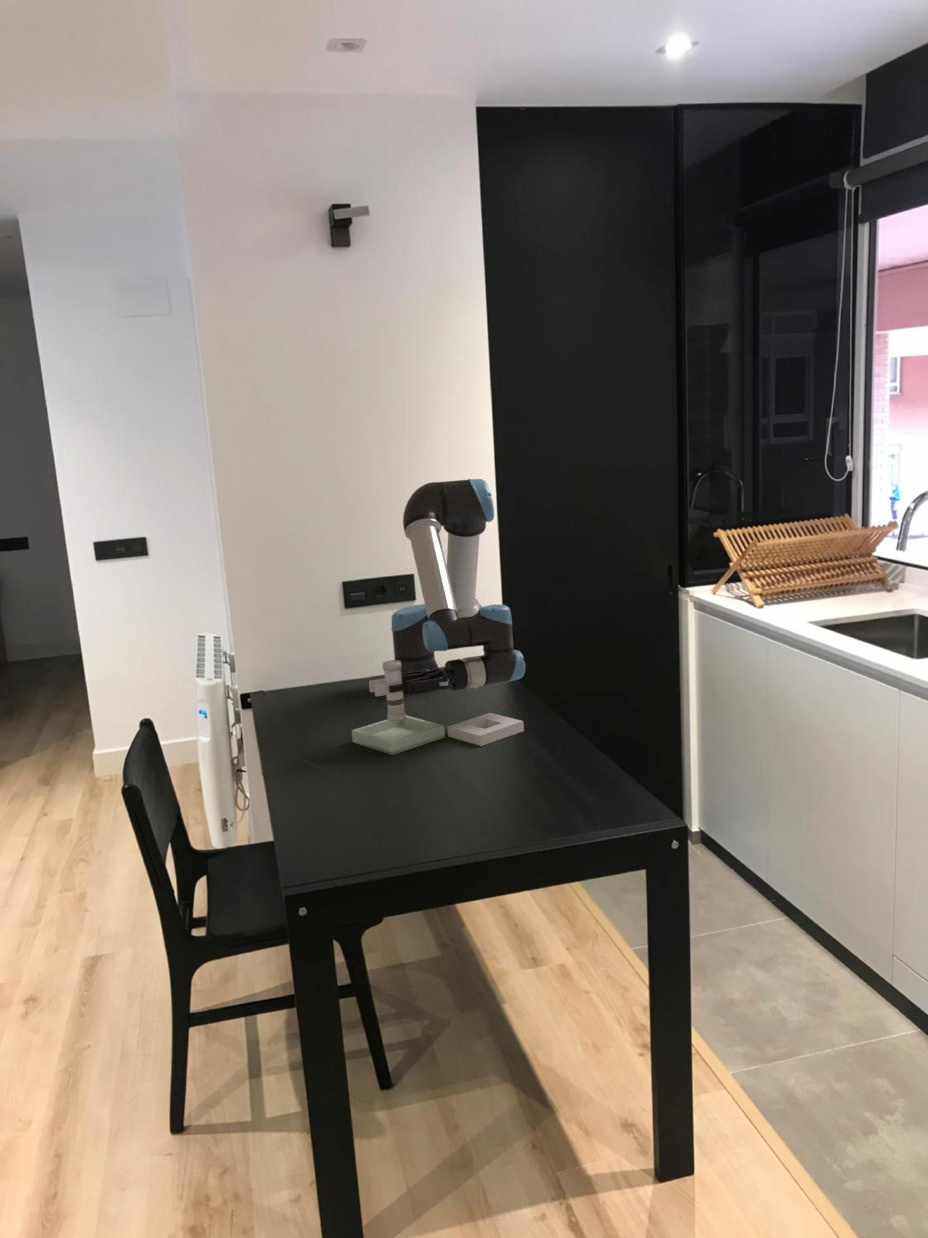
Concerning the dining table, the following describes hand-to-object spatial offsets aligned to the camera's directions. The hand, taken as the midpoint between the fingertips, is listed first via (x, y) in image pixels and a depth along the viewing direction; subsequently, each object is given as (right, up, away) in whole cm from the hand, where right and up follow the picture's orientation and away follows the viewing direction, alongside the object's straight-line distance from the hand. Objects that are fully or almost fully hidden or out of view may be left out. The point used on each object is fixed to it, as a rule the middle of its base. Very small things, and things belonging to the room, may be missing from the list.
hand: (372, 688), depth 239 cm
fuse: (+6, -7, +3) cm, 10 cm away
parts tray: (+6, -13, +5) cm, 15 cm away
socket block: (+27, -11, +4) cm, 30 cm away
